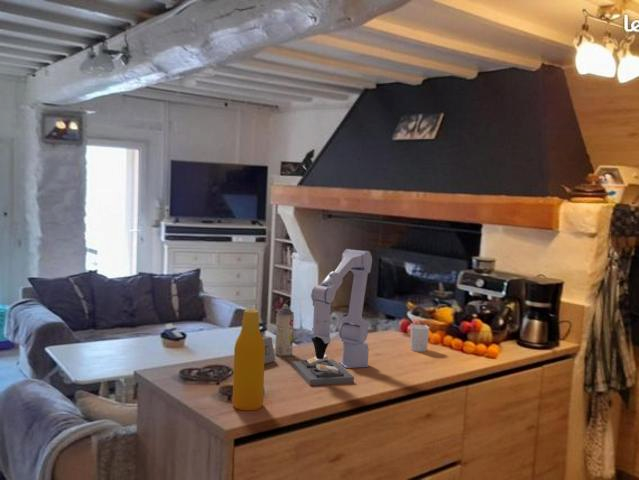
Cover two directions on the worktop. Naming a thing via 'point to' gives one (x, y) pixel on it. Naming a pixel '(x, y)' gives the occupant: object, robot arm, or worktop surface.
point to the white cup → (419, 337)
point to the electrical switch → (269, 350)
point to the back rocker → (316, 360)
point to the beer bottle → (249, 364)
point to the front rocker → (326, 368)
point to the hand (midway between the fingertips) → (319, 358)
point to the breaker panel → (322, 373)
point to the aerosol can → (284, 332)
